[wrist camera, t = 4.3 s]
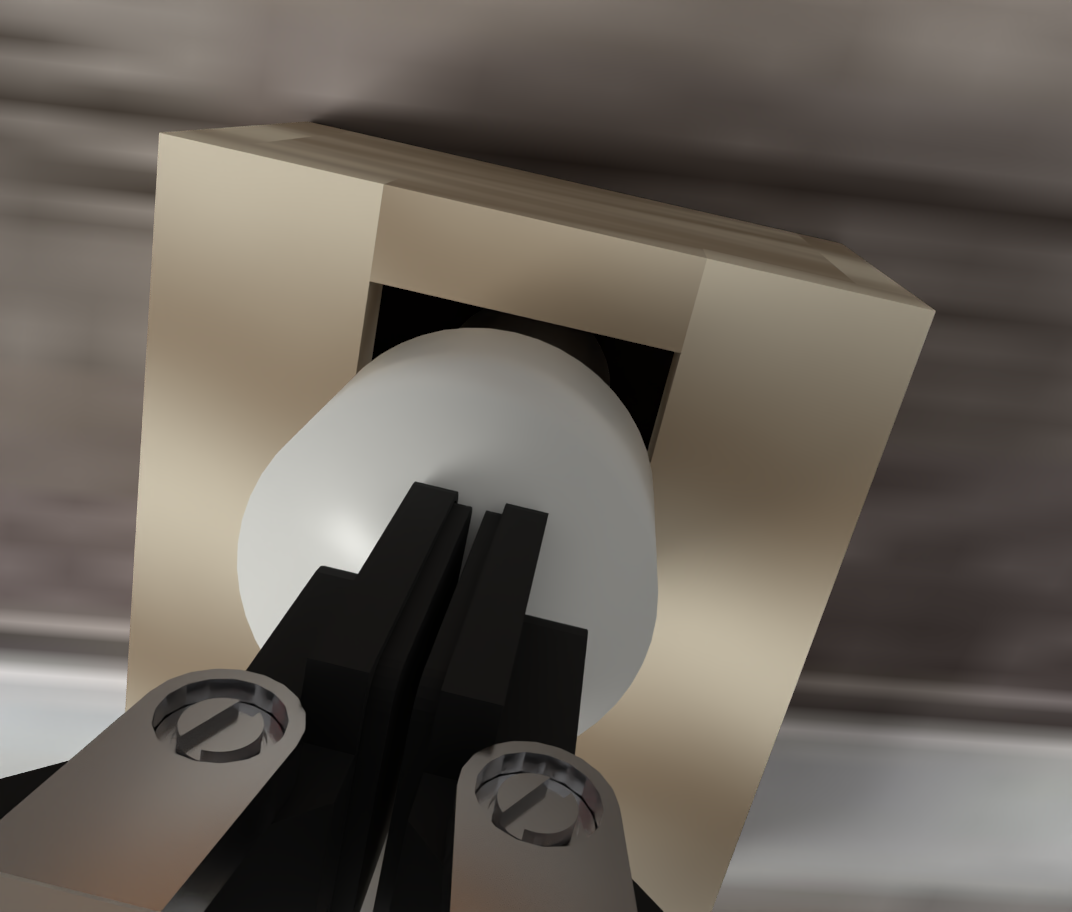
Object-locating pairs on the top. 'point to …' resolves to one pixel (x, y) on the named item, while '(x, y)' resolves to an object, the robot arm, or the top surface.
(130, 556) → the top surface
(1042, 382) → the top surface
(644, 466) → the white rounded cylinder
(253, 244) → the button box
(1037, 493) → the top surface
